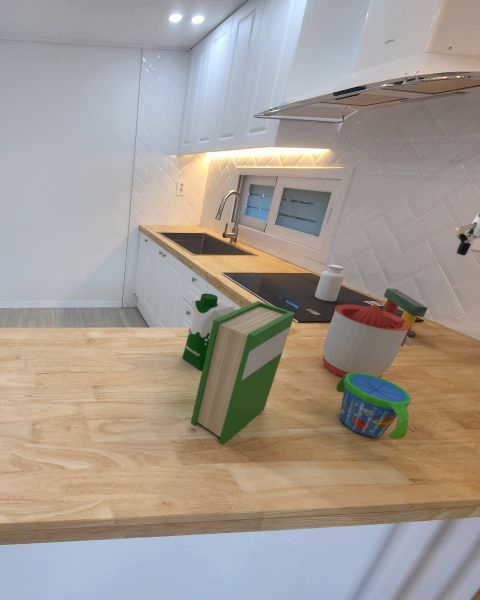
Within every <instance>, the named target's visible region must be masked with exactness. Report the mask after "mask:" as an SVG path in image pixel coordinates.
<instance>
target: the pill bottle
mask: <svg viewBox="0 0 480 600" xmlns="http://www.w3.org/2000/svg"><path fill="white" fill-rule="evenodd" d="M343 270H344V266H342V265H337V264H328V265H327V269H326V270H324V271H322V272H321V274H320V278H319V281H318V283H317V287H316V290H315V294H314V297H315V298H316V299H317V300H320V301H324V302H336V301H337V299H338V296H339V293H340V290H341V287H342V284H343V282H344V278H345V274H344V273H342V272H343Z"/></svg>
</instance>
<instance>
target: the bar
mask: <svg viewBox="0 0 480 600" xmlns="http://www.w3.org/2000/svg"><path fill="white" fill-rule="evenodd" d="M383 297H384V298H385V299H386V300H387V299H389V300H390V301H391V302H393V303H394V304H396V305H397V306H398V307H399V308H400V309H402V310H403V311H404V310H405V311H406V312H407V313H409V314H410V315H412V316H417V317H419V318H420V317H421V318H424V317H425V315H426V313H427V311H428V309H429V308H428V307H427V306H425V305H424V304H422V303H420V302H419V301H418V300H416V299H414V298H413V297H410V296H409V295H407V294H406V293H404V292H402V291H401V290H398V289H397V288H390V287H386V289H385V292H384V294H383Z"/></svg>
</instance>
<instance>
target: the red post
mask: <svg viewBox="0 0 480 600" xmlns="http://www.w3.org/2000/svg"><path fill="white" fill-rule="evenodd" d="M398 307H399V306H397V305H396V304H394V303H393V302H391V301H390V300H389V299H387V298H386V301H385V304H384V306H383V308H382V311H385V312H388V313H391V314H394V315H396V312H397V309H398Z"/></svg>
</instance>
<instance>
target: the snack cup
mask: <svg viewBox="0 0 480 600" xmlns="http://www.w3.org/2000/svg"><path fill="white" fill-rule="evenodd" d="M335 389H336V391H337V392H338V393H343V394H342V399H341V405H340V411H339V420H340V421H341V422H342V423H343V424H344V426H346V427H348V428H349V429H350V430H351V431H352V432H356V433H358V434H360V435H364V436H366V437H371V438H377V437H380V436H383V435H384V434H385V432H386V431H387V430H388V429H389V427H390V426H391V425H392V424H393V423H394V421H395V420H396V423H395V424H396V425H395V428H394V429H393V430H392V431H391V432H390V433H389V434H388V437H389V439H392V440H399V439H400V440H401V439H402V438H404V437H405V436H406V435H407V432H408V428H409V418H410V417H409V410H408V406H409V405H410V404H411V401H412V397H411V395H410V394H409V393H408V392H407V391H406V390H405V389H404V388H402V387H401V386H399V385H398V384H396V383H394V382H392V381H390V380H387V379H385V378H382V377H381V376H380V377H376V376H373V375H369V374H364V373H348V374H345V375H344V376H343V377H342V376H341V378H340V380H339V381H338V383H337V385H336V388H335Z"/></svg>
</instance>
